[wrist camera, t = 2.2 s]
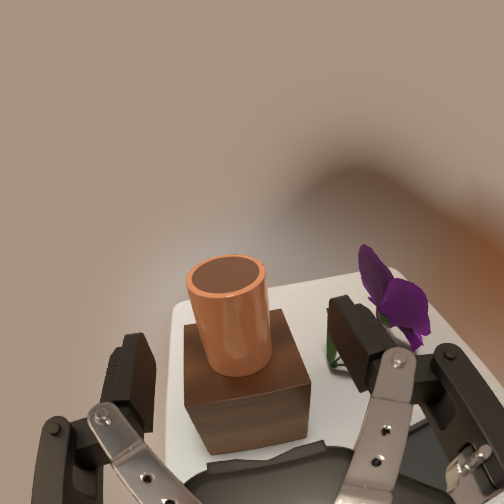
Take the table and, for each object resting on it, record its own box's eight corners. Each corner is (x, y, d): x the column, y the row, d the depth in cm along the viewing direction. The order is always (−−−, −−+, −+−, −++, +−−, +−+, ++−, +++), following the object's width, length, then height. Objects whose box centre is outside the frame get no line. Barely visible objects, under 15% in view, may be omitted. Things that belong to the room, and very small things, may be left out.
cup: (246, 388, 24) (231, 307, 20) (193, 359, 27) (169, 282, 23) (285, 343, 28) (281, 263, 24) (233, 322, 32) (220, 248, 28)
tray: (367, 563, 13) (372, 562, 12) (326, 466, 25) (328, 460, 24) (493, 485, 16) (502, 479, 15) (444, 412, 27) (450, 403, 26)
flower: (371, 415, 34) (440, 349, 35) (341, 381, 26) (436, 290, 27) (320, 352, 47) (380, 299, 47) (278, 303, 39) (354, 237, 39)
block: (306, 437, 29) (311, 382, 24) (210, 455, 28) (184, 405, 23) (284, 370, 38) (281, 308, 33) (203, 384, 37) (183, 325, 32)
